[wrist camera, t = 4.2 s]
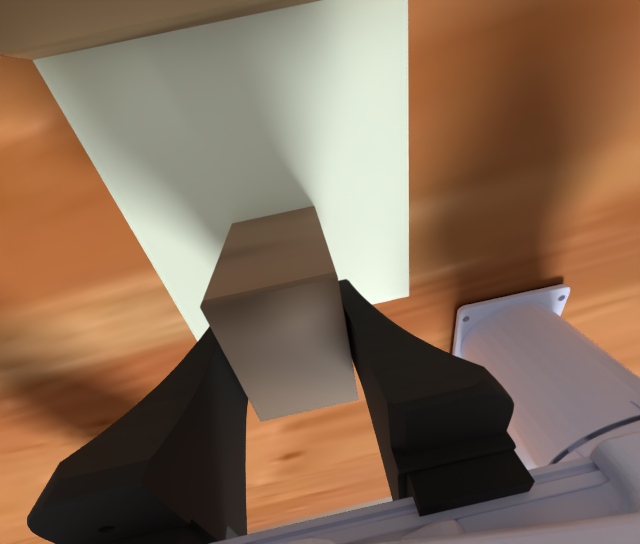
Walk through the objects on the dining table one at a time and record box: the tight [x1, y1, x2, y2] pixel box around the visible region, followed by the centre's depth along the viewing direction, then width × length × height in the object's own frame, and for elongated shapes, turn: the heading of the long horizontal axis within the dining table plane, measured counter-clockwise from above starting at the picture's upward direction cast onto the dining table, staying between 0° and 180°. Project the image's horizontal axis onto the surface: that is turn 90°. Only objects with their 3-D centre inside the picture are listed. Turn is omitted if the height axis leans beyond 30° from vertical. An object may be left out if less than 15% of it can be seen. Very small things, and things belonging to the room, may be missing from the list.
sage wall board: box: [33, 0, 409, 341], centre depth 13 cm, size 16×13×2 cm
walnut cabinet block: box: [200, 206, 359, 421], centre depth 12 cm, size 6×4×6 cm, turn 10°
